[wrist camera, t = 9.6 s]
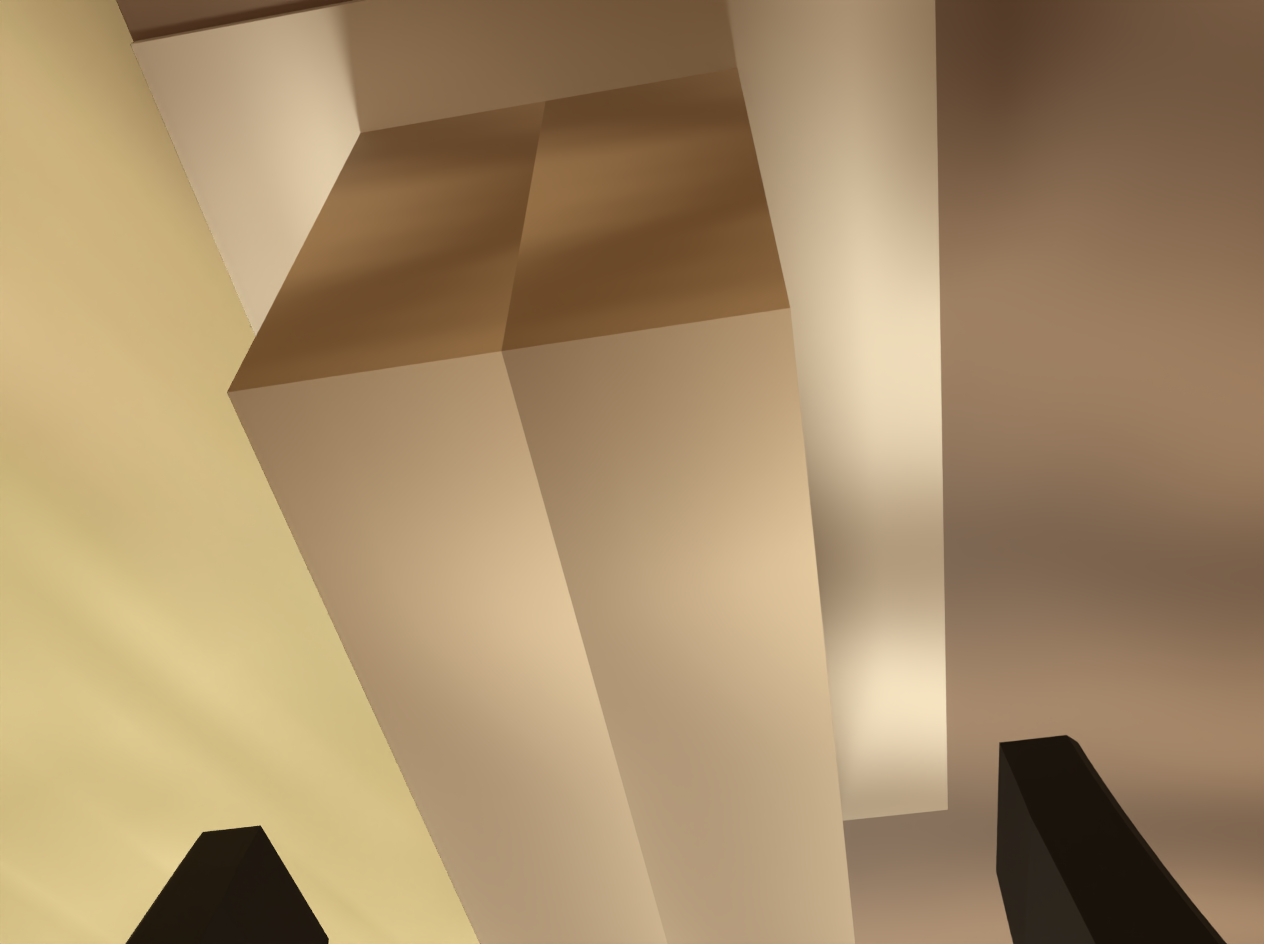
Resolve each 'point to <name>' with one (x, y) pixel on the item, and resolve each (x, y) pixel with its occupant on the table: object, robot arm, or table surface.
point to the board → (912, 362)
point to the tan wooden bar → (570, 512)
